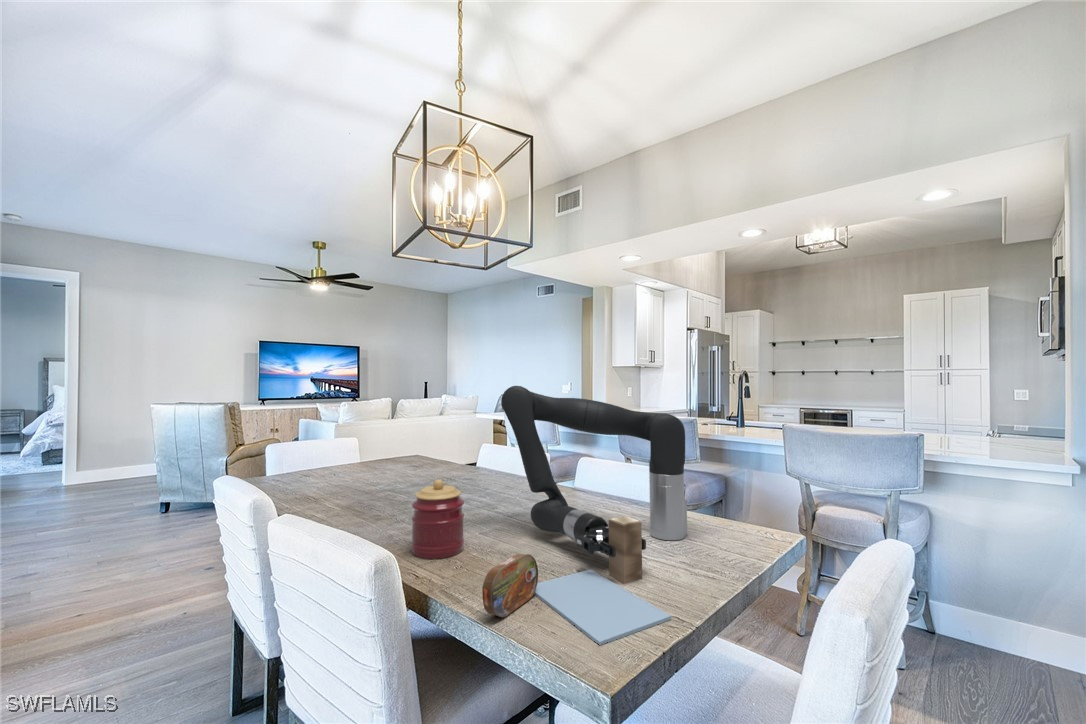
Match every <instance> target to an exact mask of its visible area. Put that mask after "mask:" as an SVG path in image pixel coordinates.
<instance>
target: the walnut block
mask: <svg viewBox="0 0 1086 724" xmlns="http://www.w3.org/2000/svg"><path fill="white" fill-rule="evenodd" d="M608 526H609V544H610V545H613V546H614V547H615V549H616V556H615V557H610V556H608V576H609V577H611V578H612V577H613V579H614V578H615V579H614V580H616V581H618V582H620V583H621V584H623V585H626V584H629V583H633V582H636V581H637V582H638V581H639V580H642V579H643V550H642V538H643V537H642V536H643V535H642V533H643V531H642V522H641V521H640V520H638V519H636V518H633V517H630V516H628V515H624V516H618V517H613V518H610V519H608Z"/></svg>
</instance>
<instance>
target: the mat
mask: <svg viewBox="0 0 1086 724" xmlns="http://www.w3.org/2000/svg"><path fill="white" fill-rule="evenodd" d="M533 596H535V597H537V598H538V599H539V600H540V601H542V602H543V603H545V604H546V605H547V606H548V607H549V608H551V609H552V610H553V609H554V610H553V611H554V612H556V613H557V614H558V613H559V614H558V615H560V616H561V617H562V618H564V619H565V620H566V621H567V622H569V624H571V623H572V624H571V625H572V626H574V625H575V626H574V627H575V628H576V627H577V628H576V629H578V630H579V631H580V630H581V631H582V632H581V631H580V632H581V633H583V634H584V635H585V636H586V637H588V638H589V639H590V638H591V641H593V642H594V641H595V642H596V644H597V643H598V644H599V645H600V646H602V645H601V644H603V645H605V644H604V643H606V644H608V643H611V642H614V641H616V639H617V640H619V639H622V638H624V637H628V636H630V635H633V634H635V633H638V632H641V631H643V630H646V629H649V628H652V627H654V626H657V625H659V624H662V623H665V622H667V621H670V620H672V615H671V614H669V613H667V612H665V611H663V610H661V609H660V608H658V607H657V606H654V605H653V604H651V603H649V602H648V601H646V600H644V599H642V598H641V597H639V596H637V595H635V594H634V593H632V592H630V591H628V590H627V589H625V588H624V587H622V586H620V585H618V584H616V583H615V582H612V581H611V580H610V579H608V578H606V577H605V576H602V575H600V574H599V573H597V572H595V571H593V570H592V569H587V570H584V571H580V572H576V573H572V574H567V575H563V576H560V577H556V578H552V579H549V580H544V581H542V582H537V587H536V590H535V592H534V594H533ZM613 640H614V641H613ZM610 641H611V642H610ZM595 642H594V643H595ZM607 642H608V643H607ZM598 644H597V645H598ZM599 645H598V646H599Z"/></svg>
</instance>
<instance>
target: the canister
mask: <svg viewBox="0 0 1086 724" xmlns="http://www.w3.org/2000/svg"><path fill="white" fill-rule="evenodd" d="M444 484H445V483H444V481H443V480H442V479H439V478H438V479H435V480H434V481H433V483H432V485H428V486H424V487H423V488H421V489H420V490H419V491H418V492H416V493H415V495H414V496H415V498H416V500H415V501H412V503H411V507H412V509H413V515H412V516H411V521H412V522H411V532H412V533H411V535H412V536H411V544H410V545H411V550H412V554H413V555H414V556H416V557H418V558H422V559H426V560H427V559H429V560H431V559H432V560H433V559H434V560H435V559H443V558H448V557H452V556H455V555H457V554H460V552H462V551H463V550H464V545H465V537H464V517H465V513H464V512H463V506H464V504H465V500H464V499H463V498H461V494H462V491H461V490H459V489H457V488H456V487H455V486H453V485H447V484H446V485H444Z"/></svg>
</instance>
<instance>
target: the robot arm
mask: <svg viewBox="0 0 1086 724" xmlns="http://www.w3.org/2000/svg"><path fill="white" fill-rule="evenodd" d="M500 402H501V407H502V410H503V412H504V414H505V416H506V418H507V420H508V421H509V423H510V427H511V428H512V431H513V434H514V436H515V440H516V442H517V446H518V449H519V453H520V457H521V460H522V461H521V462H522V465H523V468H524V473H525V477H526V479H527V483H528V486H529V489H530V491H531V492H532V493H534V494H535V493H536V494H537V493H538V494H539V493H544V494H546V496H547V497H548V498H547V499H545V500H544V499H543V500H541V501H539V502H538V501H537V502H536V503H535V504H534V505H533V506H532V507H531V510H530V519H531V521H532V523H533V524H534V525H535V527H536V528H537V529H539V530H541V531H545V532H551V533H558V534H559V533H560V534H562V535H564V536H567V537H568V538H570V539H571V540H572V541H573V542H576V547H578V548H580V549H581V550H583V551H584V552H586V553H587V554H590V555H593V554H594V553H595V552H596V553H598V554H604V555H606V556H608V557H609V556H610V557H615V556H616V549H615V547H614V546H613V545H610V544H609V523H608V522H607V521H606V520H605V519H604V518H603V517H600V516H598V515H596V514H593V513H591V512H589V511H587V510H586V511H585V510H582V509H578V508H576V507H573V506H570V505H569V504H568V502H567V501H566V498H565V496H564V495H563V494H562V492H561V490H560V489H559V487H558V484H557V483H556V481H555V479H554V476H553V472H552V470H551V466H550V463H549V460H548V457H547V454H546V451H545V449H544V447H543V443H542V442H541V439H540V436H539V433H538V431H537V430H538V429H537V426H536V422H535V421H538V422H539V421H541V422H547V423H552V424H555V425H558V426H561V427H564V428H568V429H572V430H575V431H580V432H584V433H589V434H594V435H604V436H605V435H606V436H629V437H634V438H638V439H642V440H645V441H648V442H650V443H649V444H650V445H649V446H650V450H649V451H650V458H649V463H648V465H649V466H648V469H649V470H648V471H649V474H648V475H649V476H648V479H649V535H650V536H652V537H653V538H655V539H658V540H663V541H679V540H683V539H684V538H685V537H686V536H688V504H687V503H688V501H687V500H686V499H685V479H684V478H685V477H684V476H685V475H684V474H685V473H684V471H685V470H684V469H685V465H686V463H685V462H686V430H685V426H684V424H683V422H682V421H681V419H680V418H678V417H677V416H674V415H673V414H669V413H667V412H666V413H665V412H646V411H638V410H632V409H628V408H624V407H621V406H618V405H615V404H612V403H607V402H604V401H600V400H599V401H598V400H593V399H586V398H577V397H553V396H548V395H544V394H541V393H536V392H533V391H530V390H529V389H528V388H526V387H524V386H522V385H512V386H510V387H508V388H506V389H505V390H504V392H503V393H502V396H501V399H500ZM646 549H647V540H646V539H645V538H643V537H642V551H644V550H646Z"/></svg>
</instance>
